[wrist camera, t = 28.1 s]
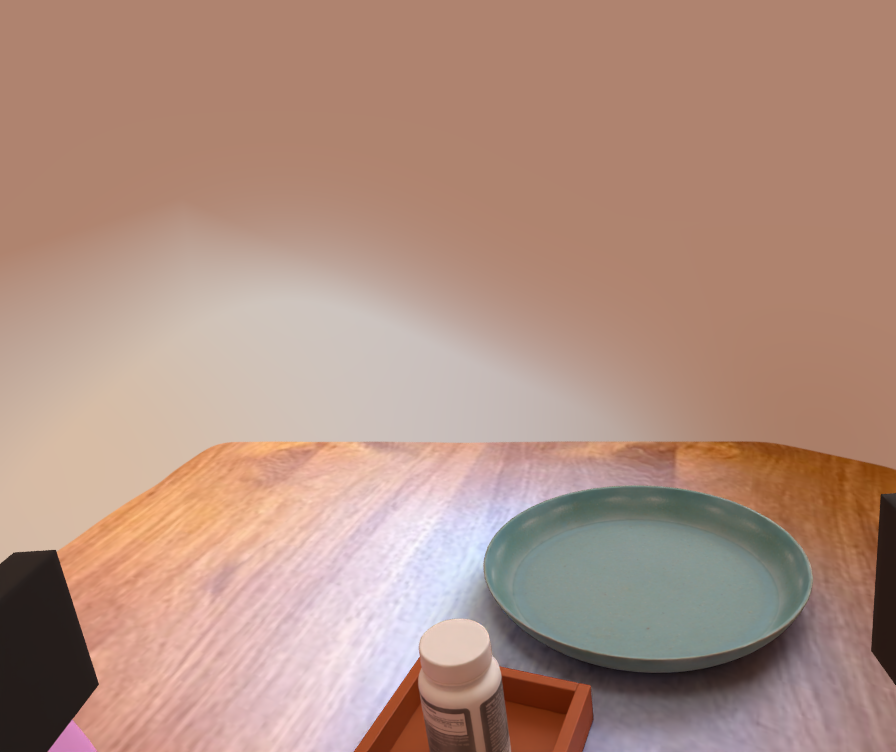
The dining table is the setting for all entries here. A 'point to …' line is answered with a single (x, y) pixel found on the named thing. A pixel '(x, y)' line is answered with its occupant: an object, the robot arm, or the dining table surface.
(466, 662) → the pill bottle
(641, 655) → the saucer
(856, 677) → the dining table surface
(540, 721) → the burnt orange tray
